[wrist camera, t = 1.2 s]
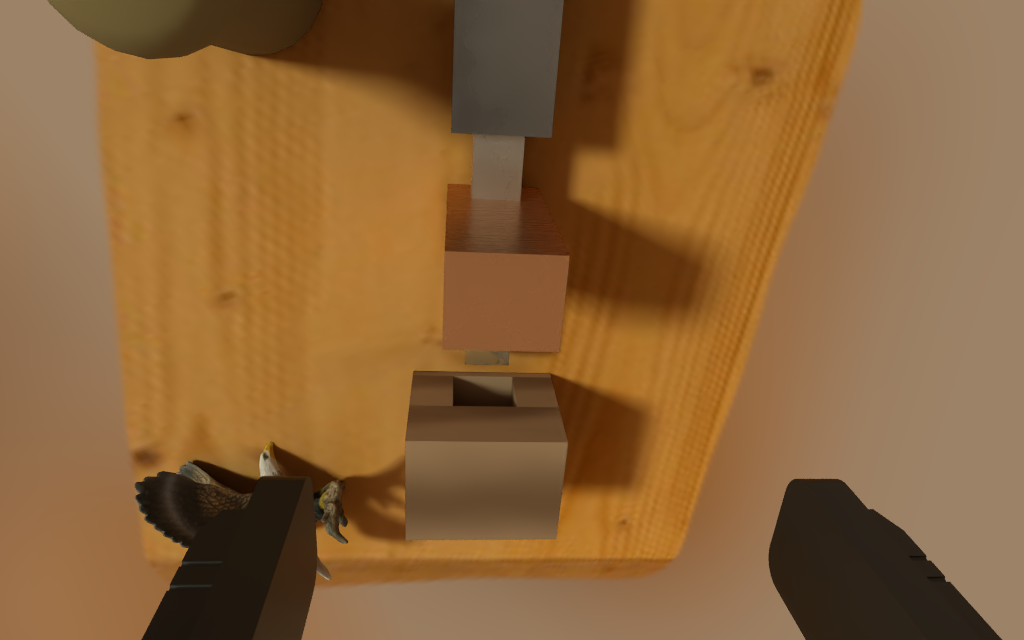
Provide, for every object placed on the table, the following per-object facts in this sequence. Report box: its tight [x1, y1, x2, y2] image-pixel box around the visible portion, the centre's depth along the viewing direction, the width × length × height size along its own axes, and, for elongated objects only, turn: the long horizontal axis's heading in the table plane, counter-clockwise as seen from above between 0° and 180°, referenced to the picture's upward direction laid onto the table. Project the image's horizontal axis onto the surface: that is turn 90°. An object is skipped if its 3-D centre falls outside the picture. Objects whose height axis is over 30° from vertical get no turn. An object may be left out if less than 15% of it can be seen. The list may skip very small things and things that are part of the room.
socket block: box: [405, 371, 568, 540], centre depth 32 cm, size 6×7×6 cm
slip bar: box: [442, 134, 570, 365], centre depth 24 cm, size 18×4×9 cm, turn 176°
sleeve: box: [451, 0, 564, 138], centre depth 24 cm, size 9×5×5 cm, turn 176°
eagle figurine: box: [135, 442, 348, 580], centre depth 33 cm, size 8×7×9 cm
